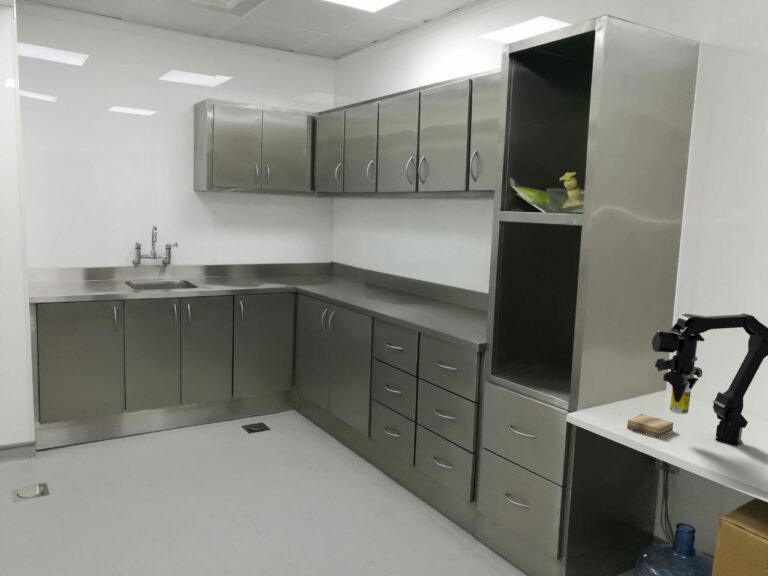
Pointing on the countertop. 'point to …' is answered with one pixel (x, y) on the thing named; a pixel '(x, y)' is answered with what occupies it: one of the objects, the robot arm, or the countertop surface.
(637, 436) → the countertop surface
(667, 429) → the brown box
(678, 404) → the supplement bottle
